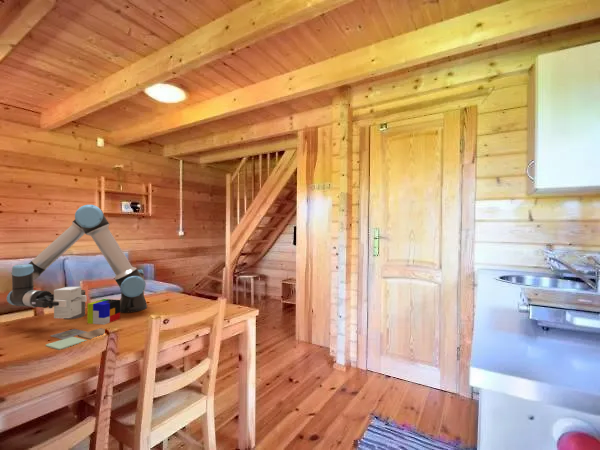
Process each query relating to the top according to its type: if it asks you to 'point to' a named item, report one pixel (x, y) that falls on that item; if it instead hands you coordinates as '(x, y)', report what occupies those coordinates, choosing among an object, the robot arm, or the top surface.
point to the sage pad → (65, 343)
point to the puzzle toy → (103, 311)
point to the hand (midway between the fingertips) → (75, 301)
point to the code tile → (68, 334)
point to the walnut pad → (92, 333)
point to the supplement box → (68, 302)
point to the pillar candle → (81, 308)
